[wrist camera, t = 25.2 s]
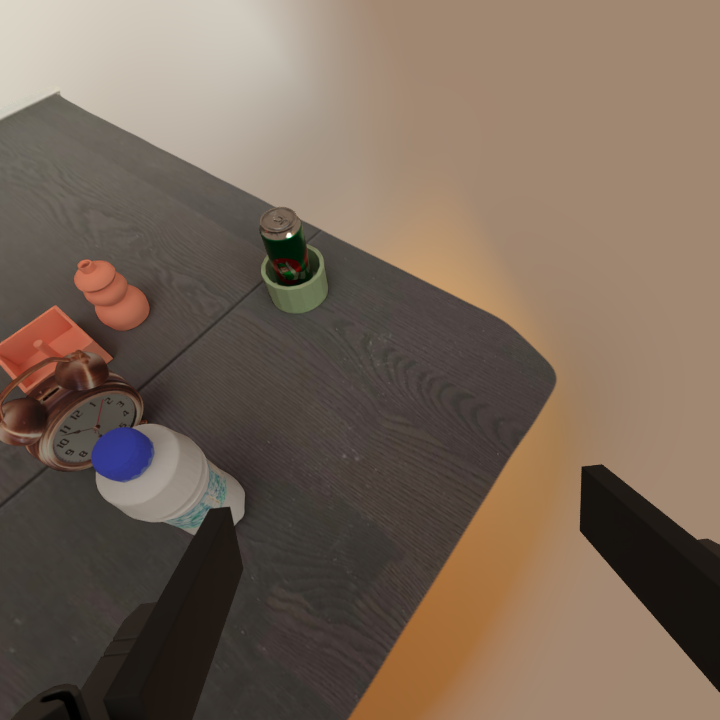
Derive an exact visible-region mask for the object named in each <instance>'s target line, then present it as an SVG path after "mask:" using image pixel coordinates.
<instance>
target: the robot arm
mask: <svg viewBox="0 0 720 720" xmlns="http://www.w3.org/2000/svg"><path fill="white" fill-rule="evenodd" d="M580 531H581V533H582V534H583V535H584V536H585V537H586V538H587V540H588V541H589V542H590V543H591V544H592V545H593V547H594V548H595V549H596V550H597V551H598V552H599V553H600V555H601V556H602V557H603V558H604V559H605V560H606V561H607V563H608V564H609V565H610V566H611V567H612V569H613V570H614V571H615V572H616V573H617V574H618V575H619V577H620V578H621V579H622V580H623V581H624V582H625V584H626V585H627V586H628V587H629V588H630V589H631V590H632V592H633V593H634V594H635V595H636V596H637V597H638V599H639V600H640V601H641V602H642V603H643V604H644V606H645V607H646V608H647V609H648V610H649V611H650V612H651V614H652V615H653V616H654V617H655V618H656V619H657V620H658V622H659V623H660V624H661V625H662V626H663V627H664V629H665V630H666V631H667V632H668V633H669V634H670V636H671V637H672V638H673V639H674V640H675V641H676V642H677V644H678V645H679V646H680V647H681V648H682V649H683V651H684V652H685V653H686V654H687V655H688V656H689V658H690V659H691V660H692V661H693V662H694V663H695V665H696V666H697V667H698V668H699V669H700V670H701V671H702V672H703V674H704V675H705V676H706V677H707V678H708V679H709V681H710V682H711V683H712V684H713V685H714V686H715V688H716V689H717V690H718V691H719V692H720V545H719V544H717V543H715V542H713V541H711V540H709V539H701V540H697V539H695V538H694V537H693V536H692V535H690V534H689V533H688V532H686V531H685V530H684V529H683V528H681V527H680V526H679V525H677V524H676V523H675V522H674V521H673V520H671V519H670V518H669V517H668V516H666V515H665V514H664V513H663V512H661V511H660V510H659V509H658V508H656V507H655V506H654V505H653V504H651V503H650V502H649V501H647V500H646V499H645V498H644V497H643V496H641V495H640V494H639V493H637V492H636V491H635V490H633V489H632V488H631V487H630V486H629V485H627V484H626V483H625V482H623V481H622V480H621V479H620V478H618V477H617V476H616V475H615V474H614V473H612V472H611V471H610V470H608V469H607V468H606V467H605V466H604V465H602V464H601V465H593V466H584V467H582V473H581V508H580ZM242 571H243V565H242V560H241V555H240V551H239V546H238V541H237V536H236V532H235V527H234V522H233V517H232V513H231V508H230V506H229V507H220V508H211V509H209V511H208V512H207V514H206V516H205V518H204V520H203V521H202V523H201V525H200V527H199V529H198V530H197V532H196V534H195V536H194V537H193V539H192V541H191V543H190V545H189V546H188V548H187V550H186V552H185V554H184V555H183V557H182V559H181V561H180V562H179V564H178V566H177V568H176V570H175V571H174V573H173V575H172V577H171V579H170V580H169V582H168V584H167V586H166V587H165V589H164V591H163V593H162V595H161V596H160V598H159V600H158V602H156V603H147V604H141V605H140V606H139V607H138V608H137V609H136V610H134V611H133V612H132V613H131V614H130V615H129V616H128V617H127V618H126V619H125V620H124V622H123V623H122V625H121V627H120V628H119V630H118V631H117V633H116V635H115V636H114V638H113V642H111V643H110V644H109V646H108V647H107V649H106V651H105V652H104V656H103V657H101V659H100V660H99V662H98V663H97V665H96V667H95V668H94V670H93V671H92V673H91V675H90V676H89V678H88V680H87V681H86V683H85V684H84V686H83V688H82V689H81V691H80V690H79V689H78V687H77V686H76V685H71V684H63V685H58V686H54V687H52V688H50V689H48V690H46V691H44V692H42V693H40V694H39V695H37V696H36V697H35V698H33V699H32V700H31V701H29V702H28V703H27V704H25V705H24V706H23V707H22V708H21V709H20V711H19V712H18V713H17V714H16V715H15V716H14V717H13V718H12V719H11V720H192V718H193V715H194V713H195V710H196V707H197V704H198V701H199V698H200V695H201V692H202V689H203V686H204V683H205V680H206V677H207V674H208V671H209V668H210V665H211V663H212V660H213V657H214V654H215V651H216V648H217V645H218V642H219V639H220V636H221V633H222V630H223V627H224V624H225V621H226V618H227V615H228V613H229V610H230V607H231V604H232V601H233V598H234V595H235V592H236V589H237V586H238V583H239V580H240V577H241V574H242Z"/></svg>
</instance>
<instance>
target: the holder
mask: <svg viewBox="0 0 720 720" xmlns="http://www.w3.org/2000/svg"><path fill="white" fill-rule="evenodd" d="M306 245H307V244H306ZM307 250H308V254H309V259H310V263H311V268H312V272H313V278H312V279H310V280H309V281H308V282H305V283H303V284H301V285H298V286H290V287H286V286H281V285H278V284H277V281H276V278H275V275H274V272H273V269H272V266H271V263H270V260H269V257H268V255H267V256H266V257H265V259H264V261H263V263H262V265H261V275H262V278H263V280H264V283H265V286H266V288H267V291H268V294H269V296H270V298H271V300H272V302H273V304H274V305H275V306H276V307H277V308H279V309H280V310H282V311H284V312H288V313H304V312H308V311H310V310H313V309H315V308H316V307H318V306H319V305H320V304H321V303H322V302H323V301H324V300H325V298H326V296H327V293H328V281H327V275H326V269H325V264H324V258H323V256H322V255H321V253H320V252H319V251H318V250H317V249H316V248H314V247H312V246H310V245H307Z"/></svg>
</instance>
